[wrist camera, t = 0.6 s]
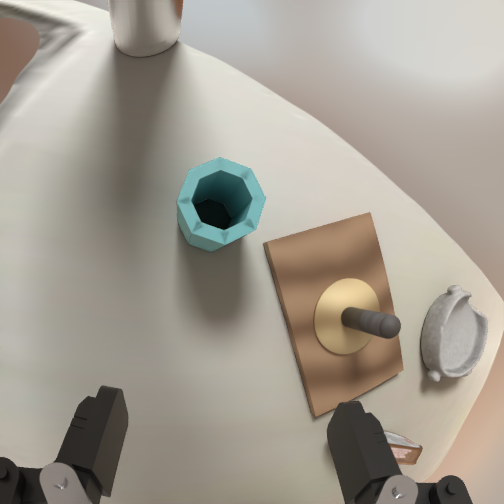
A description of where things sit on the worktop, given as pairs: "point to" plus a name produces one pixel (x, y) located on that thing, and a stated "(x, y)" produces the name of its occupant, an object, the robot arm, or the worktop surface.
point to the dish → (453, 335)
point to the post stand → (337, 309)
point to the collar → (226, 192)
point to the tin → (403, 449)
